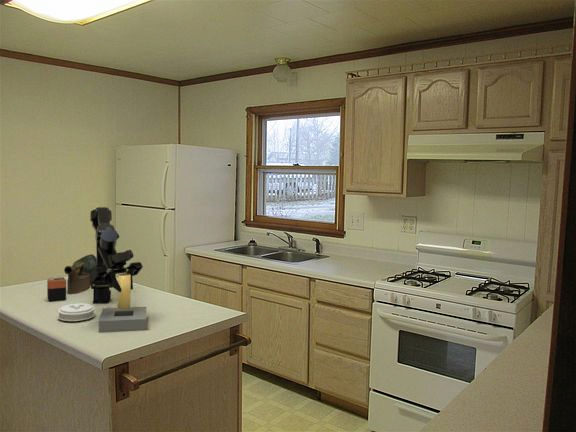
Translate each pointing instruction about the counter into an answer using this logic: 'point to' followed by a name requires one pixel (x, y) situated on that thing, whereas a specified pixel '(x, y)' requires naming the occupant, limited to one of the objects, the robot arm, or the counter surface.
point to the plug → (124, 291)
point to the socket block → (122, 319)
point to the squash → (87, 264)
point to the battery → (56, 289)
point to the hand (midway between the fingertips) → (126, 290)
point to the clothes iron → (77, 279)
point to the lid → (76, 312)
